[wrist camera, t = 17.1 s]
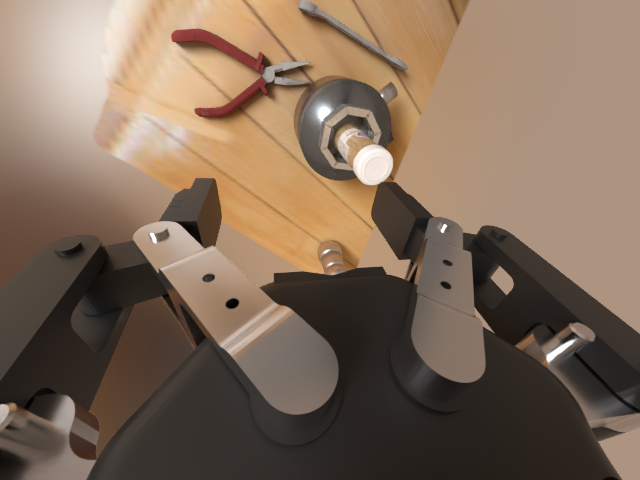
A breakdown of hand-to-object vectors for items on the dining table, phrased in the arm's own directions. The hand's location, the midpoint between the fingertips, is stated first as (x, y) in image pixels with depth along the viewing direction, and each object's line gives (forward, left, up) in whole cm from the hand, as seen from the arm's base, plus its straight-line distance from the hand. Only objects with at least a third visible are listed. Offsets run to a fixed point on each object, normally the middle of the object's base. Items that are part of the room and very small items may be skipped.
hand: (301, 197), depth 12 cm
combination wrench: (+2, +16, -39) cm, 42 cm away
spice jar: (+10, +6, -28) cm, 31 cm away
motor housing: (+10, +8, -38) cm, 40 cm away
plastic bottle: (+36, -12, -38) cm, 54 cm away
